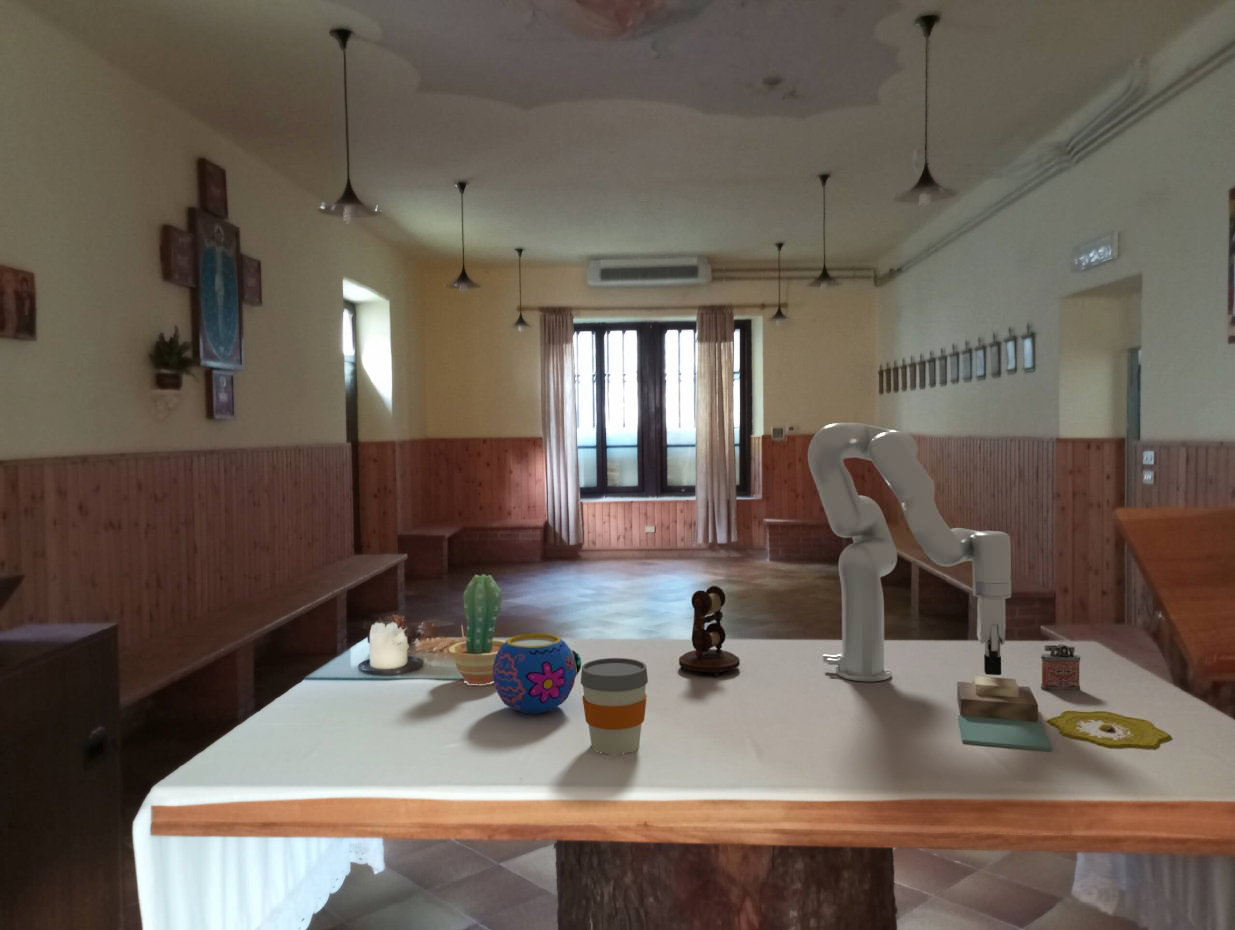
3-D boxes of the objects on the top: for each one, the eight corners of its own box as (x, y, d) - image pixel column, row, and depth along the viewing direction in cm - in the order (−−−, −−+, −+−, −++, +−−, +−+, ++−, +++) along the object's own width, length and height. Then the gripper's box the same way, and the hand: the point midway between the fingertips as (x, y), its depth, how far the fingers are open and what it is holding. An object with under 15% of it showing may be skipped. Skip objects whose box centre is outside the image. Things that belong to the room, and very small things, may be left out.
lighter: (1076, 687, 191) (1076, 642, 190) (1082, 691, 187) (1083, 646, 187) (1038, 686, 191) (1038, 642, 191) (1044, 691, 188) (1044, 646, 188)
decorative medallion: (1034, 713, 175) (1034, 706, 175) (1136, 715, 173) (1136, 708, 173) (1074, 749, 156) (1074, 742, 155) (1189, 752, 153) (1189, 744, 153)
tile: (975, 693, 174) (975, 684, 174) (973, 685, 180) (973, 675, 180) (1018, 697, 172) (1018, 687, 172) (1014, 688, 177) (1014, 678, 177)
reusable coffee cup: (626, 763, 152) (625, 680, 151) (568, 750, 158) (567, 670, 157) (661, 741, 162) (659, 662, 161) (605, 729, 169) (604, 654, 168)
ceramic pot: (594, 707, 182) (592, 637, 182) (531, 730, 169) (529, 655, 169) (539, 691, 194) (537, 625, 193) (476, 711, 181) (474, 641, 180)
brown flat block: (960, 718, 172) (960, 698, 171) (957, 699, 183) (957, 681, 183) (1037, 724, 167) (1037, 704, 167) (1029, 705, 179) (1029, 686, 178)
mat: (962, 742, 159) (962, 739, 159) (958, 718, 172) (958, 715, 172) (1052, 751, 154) (1052, 748, 154) (1040, 725, 167) (1040, 722, 167)
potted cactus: (527, 676, 206) (525, 573, 205) (485, 693, 193) (482, 583, 192) (479, 667, 214) (476, 568, 213) (435, 683, 201) (432, 578, 200)
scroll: (698, 658, 220) (697, 580, 219) (750, 666, 211) (749, 586, 210) (667, 672, 208) (666, 590, 207) (721, 681, 199) (720, 596, 198)
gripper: (970, 582, 192) (971, 663, 192) (975, 594, 178) (976, 682, 178) (1006, 583, 189) (1007, 665, 190) (1015, 596, 175) (1016, 684, 176)
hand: (992, 673), depth 184 cm, fingers closed
